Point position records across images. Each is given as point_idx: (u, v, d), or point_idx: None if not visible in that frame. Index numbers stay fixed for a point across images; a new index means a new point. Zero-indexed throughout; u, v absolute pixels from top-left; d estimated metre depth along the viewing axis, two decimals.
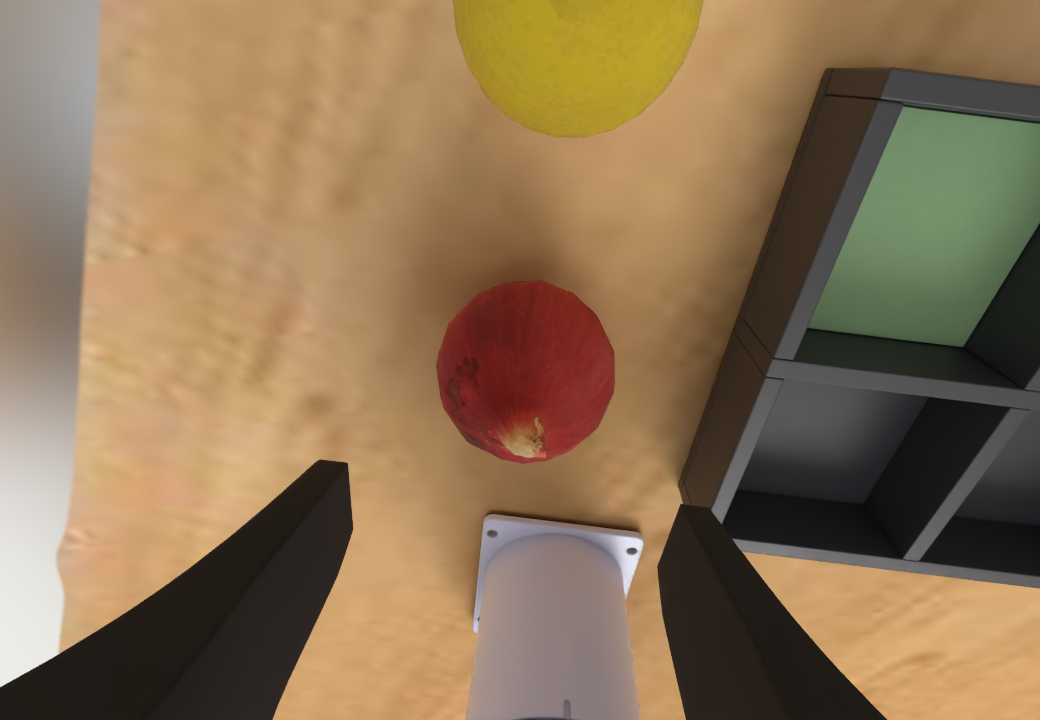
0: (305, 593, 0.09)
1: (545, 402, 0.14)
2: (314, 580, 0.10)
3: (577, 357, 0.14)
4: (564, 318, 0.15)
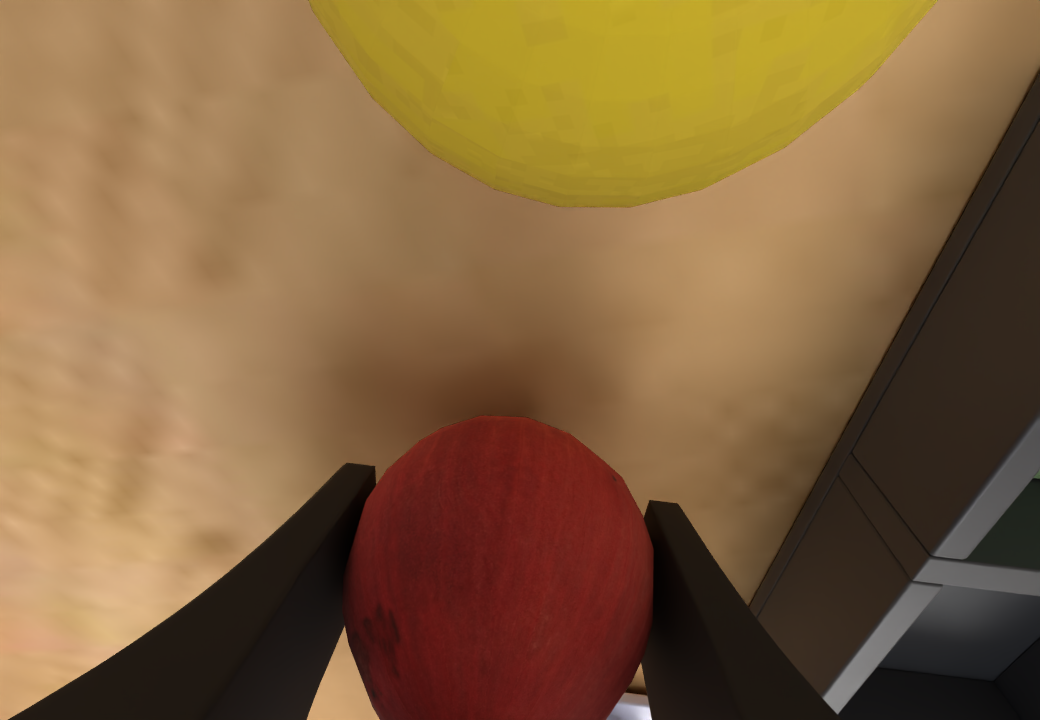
0: (336, 597, 0.09)
1: (530, 719, 0.07)
2: None
3: (592, 611, 0.07)
4: (567, 527, 0.08)
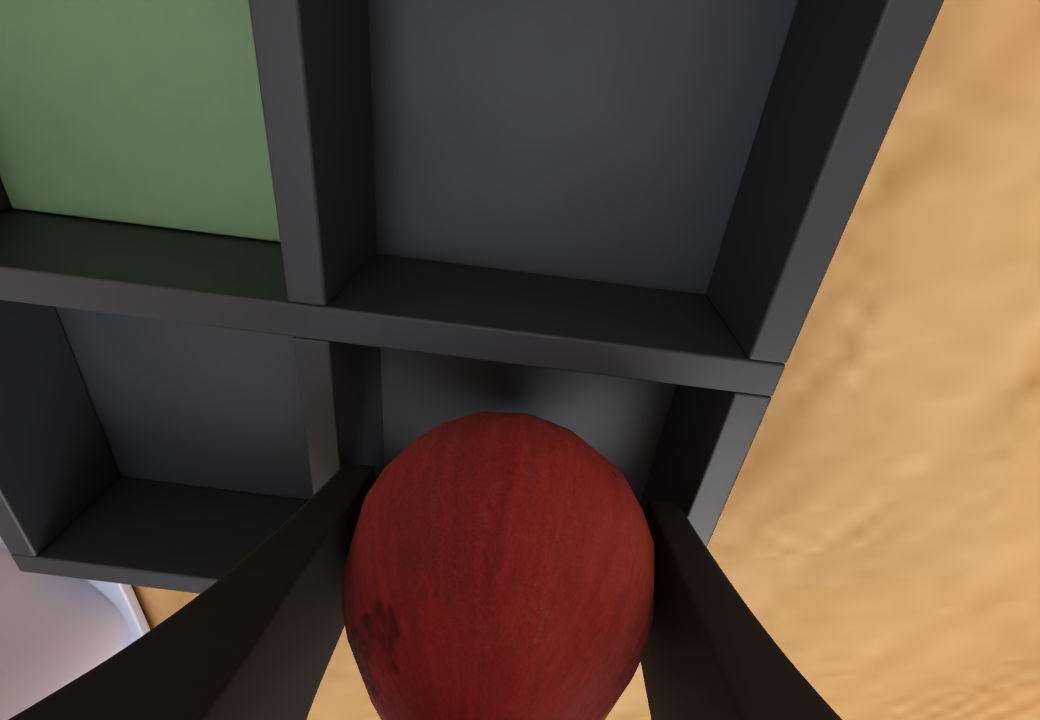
0: (336, 597, 0.09)
1: (531, 716, 0.07)
2: None
3: (592, 607, 0.07)
4: (568, 522, 0.08)
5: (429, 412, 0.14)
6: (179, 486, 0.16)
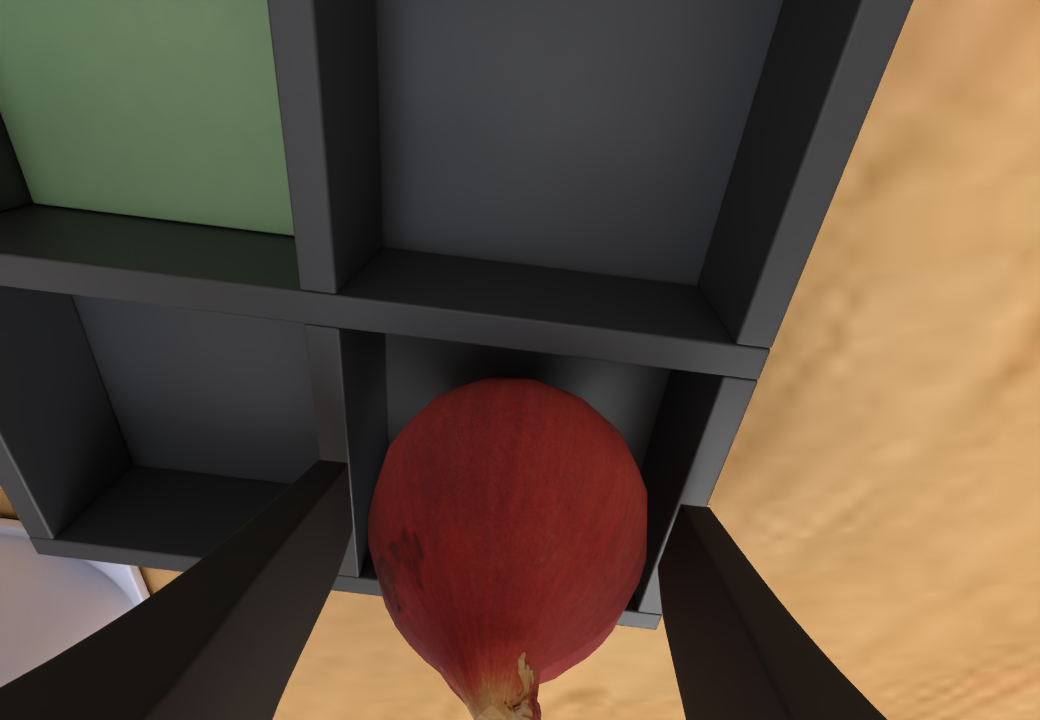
0: (305, 593, 0.09)
1: (537, 623, 0.08)
2: (314, 580, 0.10)
3: (592, 534, 0.08)
4: (570, 462, 0.09)
5: None
6: (189, 474, 0.16)
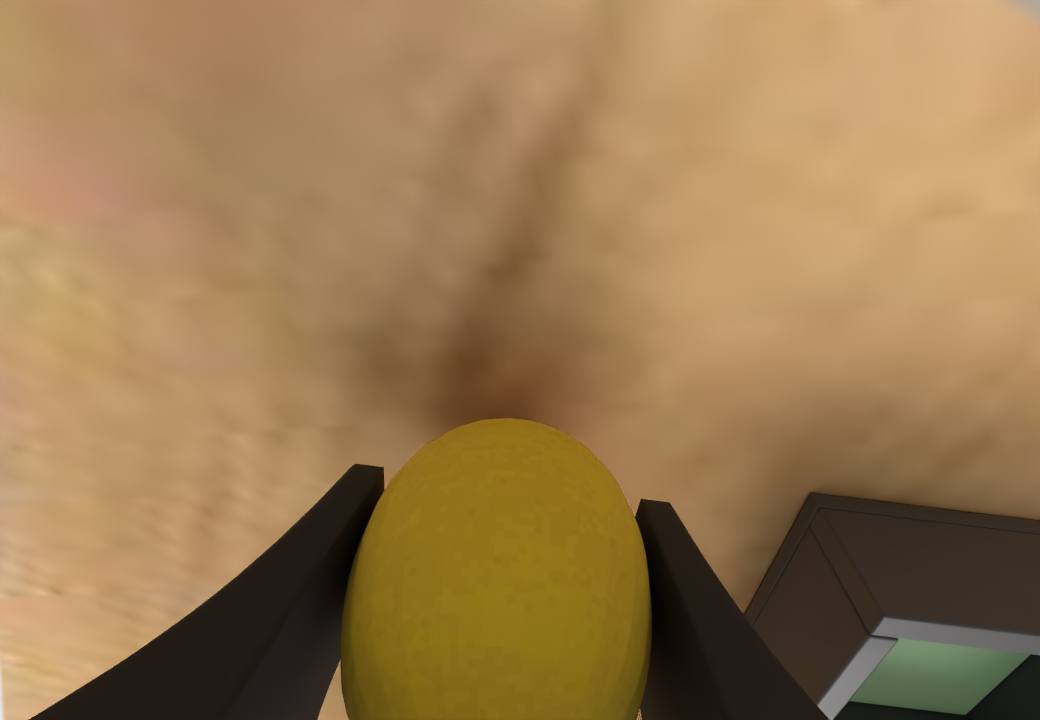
0: None
1: None
2: None
3: None
4: None
5: None
6: None
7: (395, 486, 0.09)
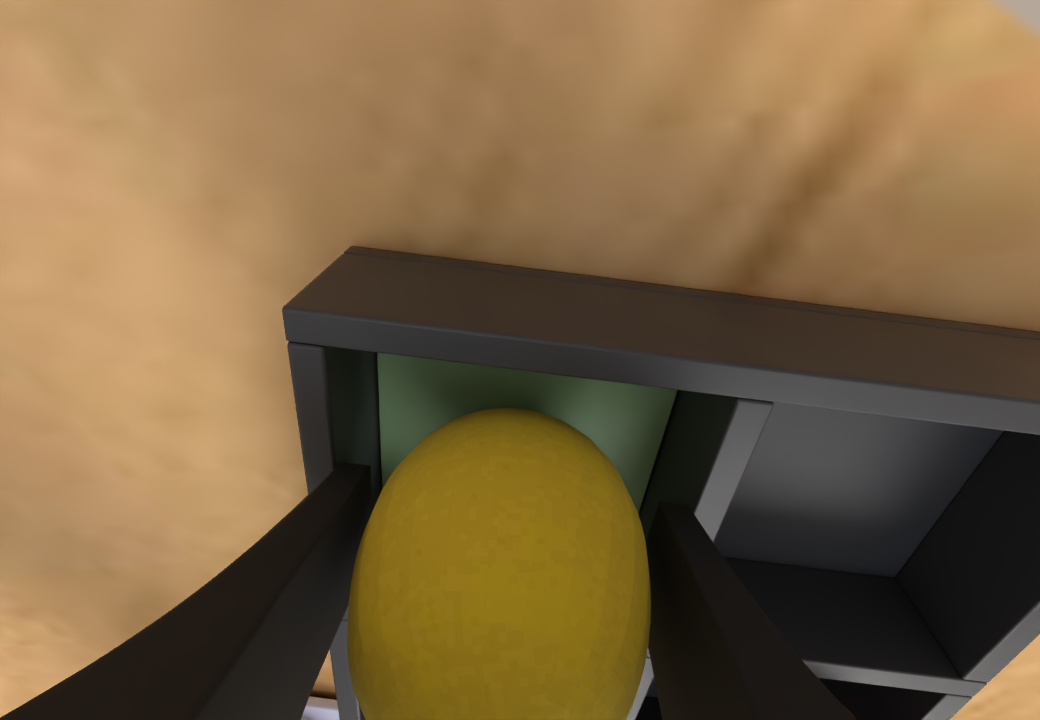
0: (331, 596, 0.09)
1: None
2: (339, 583, 0.10)
3: None
4: None
5: None
6: None
7: (400, 473, 0.09)
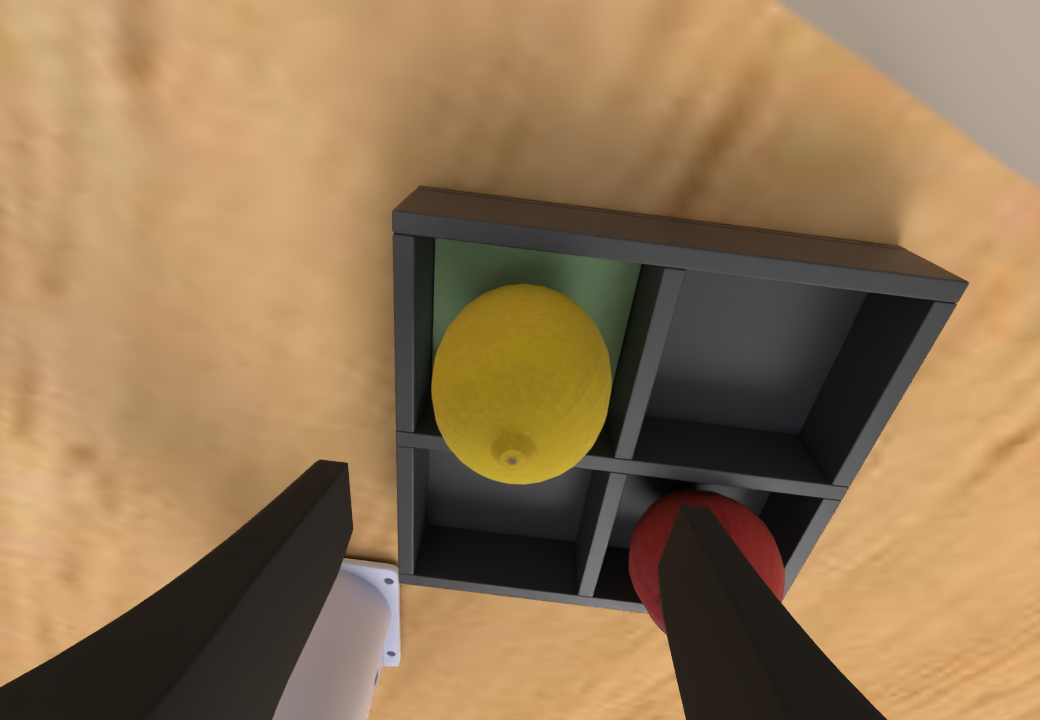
0: (305, 593, 0.09)
1: None
2: (314, 580, 0.10)
3: (769, 583, 0.18)
4: (755, 548, 0.18)
5: (630, 490, 0.24)
6: (464, 530, 0.26)
7: (460, 313, 0.15)
